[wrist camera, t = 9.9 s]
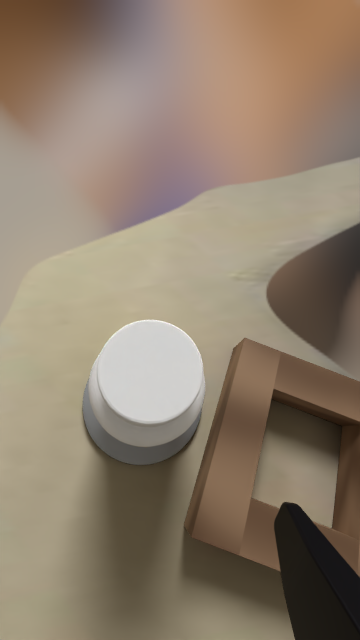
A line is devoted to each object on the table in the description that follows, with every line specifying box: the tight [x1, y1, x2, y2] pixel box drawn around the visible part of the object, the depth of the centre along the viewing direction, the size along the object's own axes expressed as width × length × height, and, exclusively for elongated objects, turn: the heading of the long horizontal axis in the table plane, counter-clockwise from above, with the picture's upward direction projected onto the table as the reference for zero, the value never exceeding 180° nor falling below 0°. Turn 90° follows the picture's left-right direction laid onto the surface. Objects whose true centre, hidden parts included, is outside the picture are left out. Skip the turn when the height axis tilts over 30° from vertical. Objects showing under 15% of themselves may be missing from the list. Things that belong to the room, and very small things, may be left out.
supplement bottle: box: [88, 320, 205, 447], centre depth 15 cm, size 5×5×10 cm
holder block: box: [184, 338, 360, 577], centre depth 19 cm, size 12×12×2 cm
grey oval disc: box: [83, 380, 202, 465], centre depth 20 cm, size 8×8×1 cm
